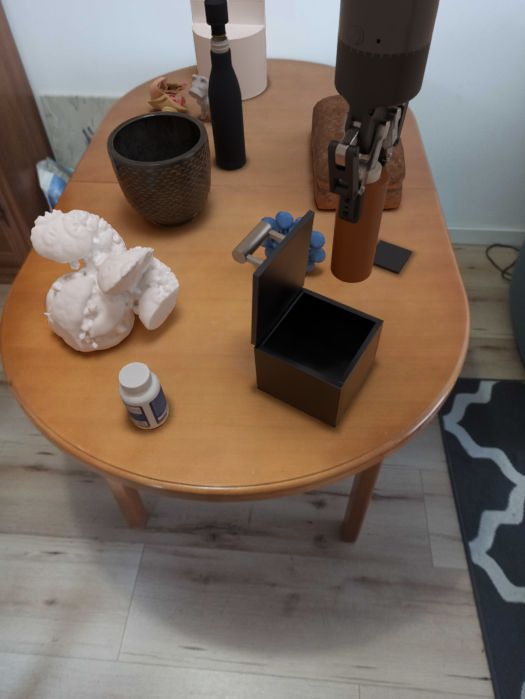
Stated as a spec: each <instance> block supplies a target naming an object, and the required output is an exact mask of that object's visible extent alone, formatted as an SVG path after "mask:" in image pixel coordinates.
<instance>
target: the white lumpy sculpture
mask: <svg viewBox="0 0 525 699" xmlns="http://www.w3.org/2000/svg"><path fill="white" fill-rule="evenodd" d="M33 223H34V226H33V227H32V228H31V230H30V232H31V234H30V238H29V239H30V242H31V243H32V244H31V246H32V247H33V249H34V251H35V252H36V253H37V255H39V256H40V257H42V258H44V259H47V260H51V261H53V262H55V263H59V264H68V265H69V268H70V269H71V270H76V271H69V272H66V273H64V274H61V275H60V276H59V277H57V278H56V279H55V281H54V282H53V283H52V284H51V287H50V288H49V290H48V292H47V294H46V297H45V307H46V308H45V309H46V312H43V314H44V316H45V317H46V318H47V319H46V320H47V324H48V326H49V327H50V328H51V331H52V332H54V333H55V334H56V335H57V336H59V337H60V338H62V340H63V341H64V342H65V344H67V345H68V346H69V347H71V348H72V349H74V350H75V351H78V352H79V351H80V352H85V353H88V352H89V353H90V352H93V351H101V350H108V349H111V348H112V347H115V346H118V345H119V344H120V343H121V342H122V341H123V340H124V339H125V338H126V337H128V336H129V335H130V333H131V331H132V330H133V328H134V325H135V322H136V321H135V317H136V316H135V315H138V318H139V320H140V321H141V323H142V324H143V326H144V327H145V328H146V329H147V330H148V331H154V330H156V329H158V328H159V327H160V326H161V325H162V324H164V322H165V321H166V319H167V318H168V317H169V315H170V314H171V313H172V312H173V309H174V308H175V307H176V306H177V298H178V296H179V291H180V283H179V280H178V279H177V275H175V273H174V272H173V271H172V268H171V267H169V266H168V265H166V264H165V263H164V262H162V261H161V260H160V259H158V258H157V257H155V256H154V251H155V248H152V247H147V246H145V247H142V246H141V245H137V246H135V247H129V249H128V248H127V245H126V242H125V241H124V239H123V238H122V236H121V235H120V234H119V233H118V232H117V230H115V229H114V228H113V227H112V225H111V224H110V223H108V221H107V220H104V218H103V217H100V216H99V215H98V214H94V213H90V212H89V211H87V210H81V209H72V210H70V211H69V212H64V213H63V211H62V210H61V209H55V208H54V209H52V212H49V211H44V215H43V216H42V215H38V216H37V218H36V219H35V220H34V222H33ZM79 260H82V261H83V262H82V265H83V267H81V264H80V262H79ZM80 267H81V268H80Z"/></svg>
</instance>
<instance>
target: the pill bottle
mask: <svg viewBox="0 0 525 699" xmlns="http://www.w3.org/2000/svg"><path fill="white" fill-rule="evenodd" d="M117 378H118V382H119V385H118V394H119V398H120V399H121V401H122V404H123V405H124V408H125V409H126V412H127V414H128V415H129V417H130V419H131V421H132V423H133V424H134V426H136V427H138V428H139V429H143V430H152V429H155V428H157V427H160V426H161V425H162V424H164V423H165V422H166V420H167V419H168V417H169V413H170V406H169V404H168V400H167V398H166V395H165V392H164V390H163V386H162V384H161V381H160V379H159V377H158V375H156V373H154V372H153V371H151V370H150V368H149V366H148V365H147V364H146V363H143V362H140V361H134V362H129V363H128V364H127V363H126V364H125V365H124V366H123V367H122V368H121V369H120V371H119V372H118V377H117Z"/></svg>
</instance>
